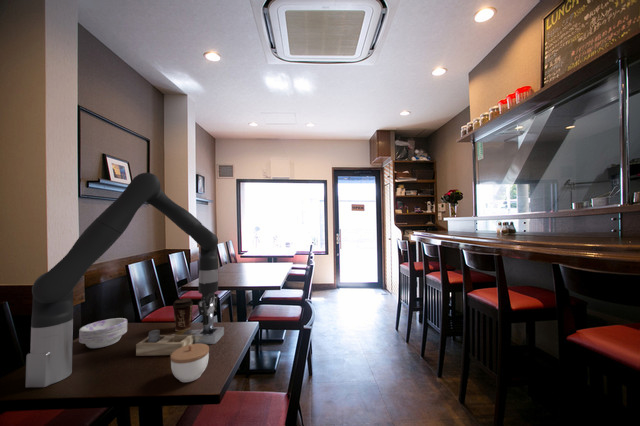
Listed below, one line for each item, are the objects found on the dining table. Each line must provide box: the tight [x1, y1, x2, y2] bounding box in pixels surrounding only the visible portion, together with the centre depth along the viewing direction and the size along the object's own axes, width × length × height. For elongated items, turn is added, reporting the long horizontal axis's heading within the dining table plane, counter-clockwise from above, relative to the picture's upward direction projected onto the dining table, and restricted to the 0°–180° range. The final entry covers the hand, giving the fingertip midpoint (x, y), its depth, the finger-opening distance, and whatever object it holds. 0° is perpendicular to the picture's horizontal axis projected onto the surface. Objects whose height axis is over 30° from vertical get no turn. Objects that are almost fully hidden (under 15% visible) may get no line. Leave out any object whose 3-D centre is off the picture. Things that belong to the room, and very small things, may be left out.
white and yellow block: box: [175, 329, 200, 335], centre depth 108 cm, size 4×8×3 cm, turn 89°
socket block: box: [193, 326, 225, 345], centre depth 107 cm, size 9×9×3 cm
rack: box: [135, 329, 193, 357], centre depth 99 cm, size 8×17×7 cm, turn 89°
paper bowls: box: [78, 317, 128, 349], centre depth 106 cm, size 15×15×8 cm
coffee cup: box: [172, 297, 194, 332], centre depth 120 cm, size 9×8×13 cm
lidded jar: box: [170, 344, 210, 383], centre depth 81 cm, size 11×11×9 cm
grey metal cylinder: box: [202, 302, 215, 334], centre depth 108 cm, size 4×4×12 cm
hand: (208, 322), depth 107 cm, fingers closed on grey metal cylinder, 4 cm apart
